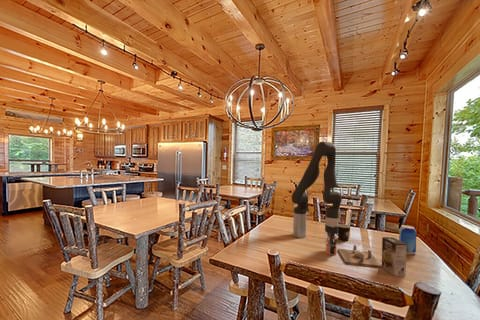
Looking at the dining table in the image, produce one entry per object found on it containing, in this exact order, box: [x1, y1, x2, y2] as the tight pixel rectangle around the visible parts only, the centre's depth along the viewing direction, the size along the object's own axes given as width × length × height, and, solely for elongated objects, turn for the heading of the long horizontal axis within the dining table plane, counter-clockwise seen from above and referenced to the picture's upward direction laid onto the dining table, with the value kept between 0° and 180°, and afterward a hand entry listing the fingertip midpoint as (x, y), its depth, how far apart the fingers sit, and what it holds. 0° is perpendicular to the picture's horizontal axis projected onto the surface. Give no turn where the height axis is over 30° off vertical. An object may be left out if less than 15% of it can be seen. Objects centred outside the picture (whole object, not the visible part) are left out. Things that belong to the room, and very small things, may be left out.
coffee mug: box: [335, 223, 351, 242], centre depth 154 cm, size 12×9×10 cm
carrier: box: [337, 244, 383, 269], centre depth 124 cm, size 18×18×5 cm
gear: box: [325, 243, 337, 256], centre depth 131 cm, size 6×6×4 cm
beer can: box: [398, 224, 417, 255], centre depth 135 cm, size 8×8×16 cm
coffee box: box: [381, 236, 407, 277], centre depth 111 cm, size 9×6×16 cm
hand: (331, 251), depth 131 cm, fingers closed on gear, 5 cm apart
